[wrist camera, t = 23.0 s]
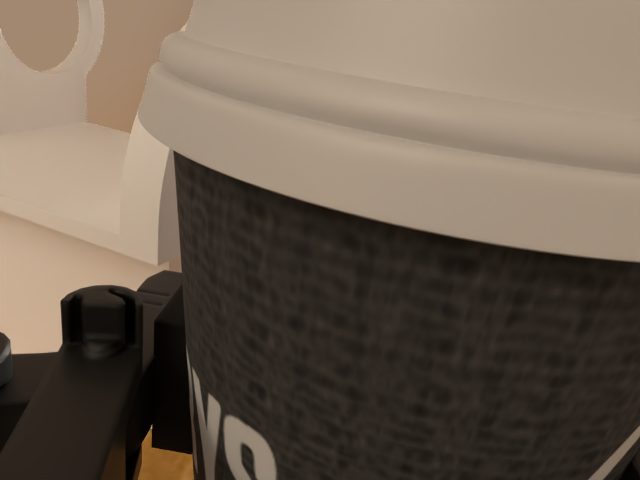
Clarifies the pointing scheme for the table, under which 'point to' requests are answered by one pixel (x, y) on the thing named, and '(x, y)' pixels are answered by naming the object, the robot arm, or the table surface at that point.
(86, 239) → the white stand
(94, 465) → the robot arm
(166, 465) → the table surface
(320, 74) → the coffee cup
